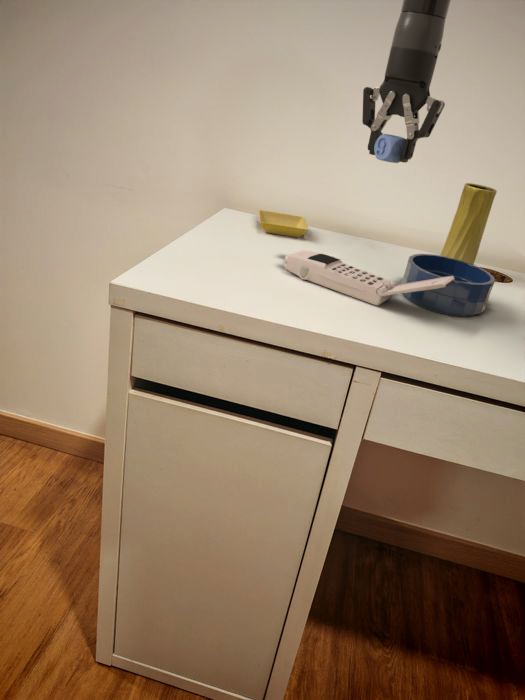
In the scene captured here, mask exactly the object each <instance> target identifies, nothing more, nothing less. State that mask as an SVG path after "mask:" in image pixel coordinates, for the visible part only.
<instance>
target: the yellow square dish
mask: <svg viewBox="0 0 525 700" xmlns="http://www.w3.org/2000/svg"><path fill="white" fill-rule="evenodd" d="M258 222H259V225H260V227H261V229H262V230H263V232H264V233H267V234H275V235H279V236H285V237H286V236H287V237H293V238H299V237H302V236H303V235H305V234H306V232H308V230H309V228H308V225H307V222H306V218H305V217H304V216H300V215H294V214H289V213H280V212H275V211H268V210H262V209H259V210H258Z"/></svg>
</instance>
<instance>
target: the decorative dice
mask: <svg viewBox="0 0 525 700" xmlns="http://www.w3.org/2000/svg"><path fill="white" fill-rule="evenodd" d="M405 139H406V138H405V137H403V136H399V135H394V134H388V133H383V134H382V135H381V136H380V137H379V138H378V139H377V141H376V143H375V146H374V153H375V155H374V156H375V159H377V160H379V161H381V162H387V163H393V164H399V163H401V162H400V157H401V153H402V149H403V145H404V141H405Z"/></svg>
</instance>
